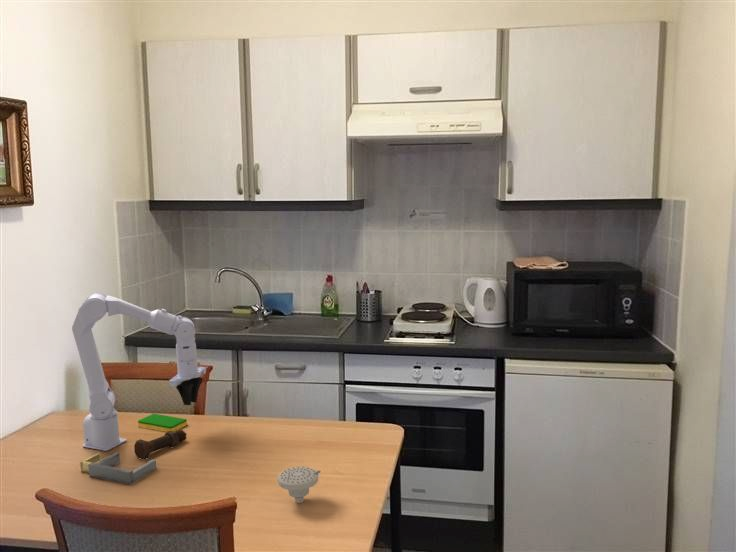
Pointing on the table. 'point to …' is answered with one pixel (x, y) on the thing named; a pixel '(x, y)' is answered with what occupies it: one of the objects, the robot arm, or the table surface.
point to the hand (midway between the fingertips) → (190, 403)
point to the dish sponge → (162, 422)
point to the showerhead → (298, 481)
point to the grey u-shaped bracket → (119, 470)
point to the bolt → (158, 443)
